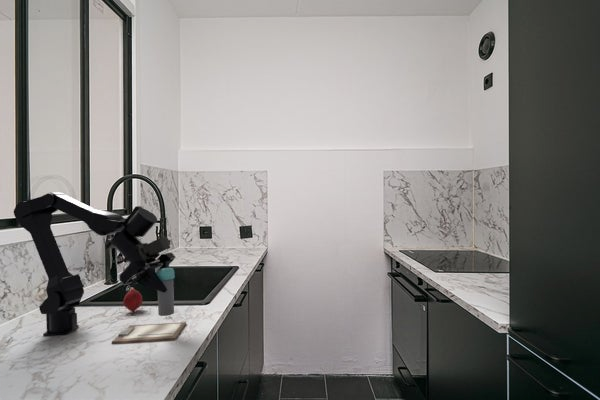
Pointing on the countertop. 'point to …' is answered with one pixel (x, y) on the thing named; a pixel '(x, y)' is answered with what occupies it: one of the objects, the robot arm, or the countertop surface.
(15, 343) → the countertop surface
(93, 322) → the countertop surface
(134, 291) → the red rounded piece
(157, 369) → the countertop surface
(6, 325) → the countertop surface
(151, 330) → the clipboard
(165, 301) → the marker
